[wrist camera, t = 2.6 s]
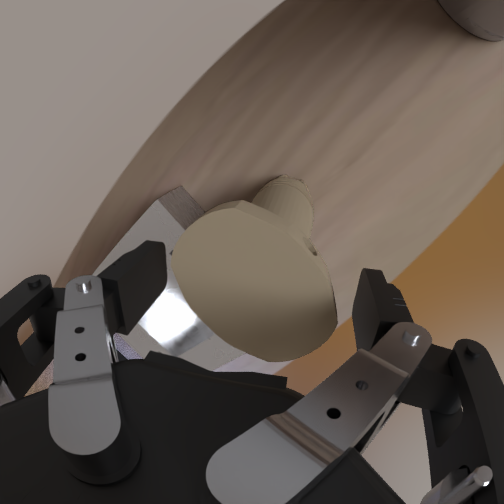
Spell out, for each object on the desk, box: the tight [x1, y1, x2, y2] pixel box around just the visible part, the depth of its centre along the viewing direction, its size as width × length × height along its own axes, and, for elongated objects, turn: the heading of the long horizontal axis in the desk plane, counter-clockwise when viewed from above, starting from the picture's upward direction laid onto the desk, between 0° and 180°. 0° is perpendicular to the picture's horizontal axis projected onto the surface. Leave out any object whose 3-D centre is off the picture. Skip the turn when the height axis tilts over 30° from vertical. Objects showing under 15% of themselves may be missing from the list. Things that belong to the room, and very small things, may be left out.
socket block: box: [92, 186, 246, 371], centre depth 28 cm, size 14×14×5 cm
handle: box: [171, 175, 338, 362], centre depth 17 cm, size 5×6×15 cm
